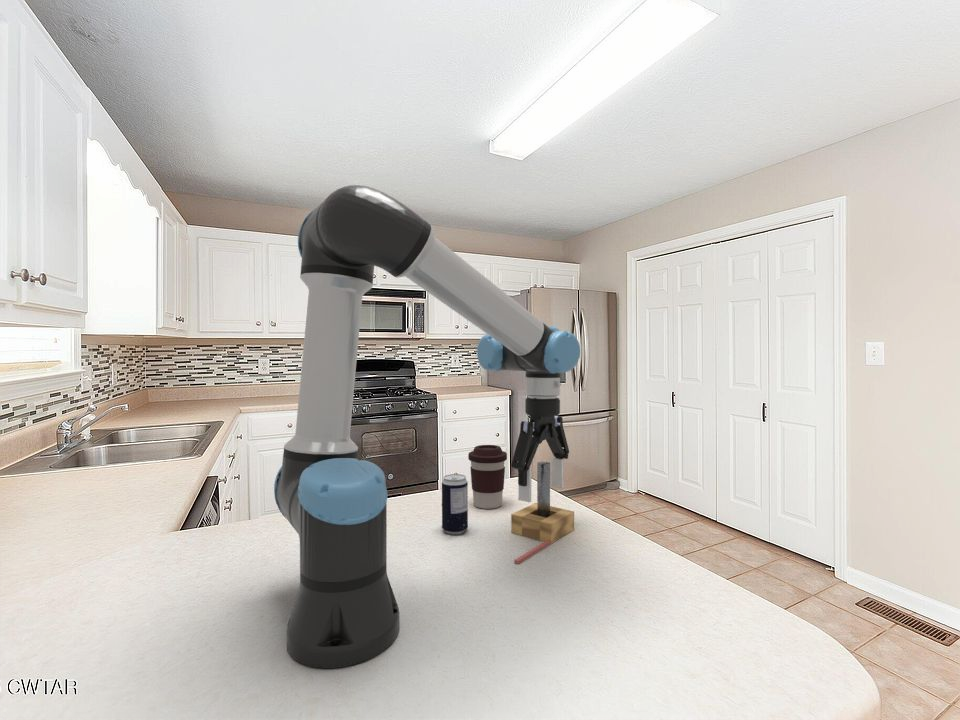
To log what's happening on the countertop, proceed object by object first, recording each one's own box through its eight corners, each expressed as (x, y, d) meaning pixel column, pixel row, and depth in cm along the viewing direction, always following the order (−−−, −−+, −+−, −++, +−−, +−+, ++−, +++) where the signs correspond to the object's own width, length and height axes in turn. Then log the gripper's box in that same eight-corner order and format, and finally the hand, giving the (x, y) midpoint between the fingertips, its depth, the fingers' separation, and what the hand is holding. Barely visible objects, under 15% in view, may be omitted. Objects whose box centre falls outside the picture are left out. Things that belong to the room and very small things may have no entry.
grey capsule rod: (545, 534, 102) (545, 465, 102) (534, 531, 104) (534, 463, 104) (552, 530, 104) (552, 462, 104) (541, 527, 106) (541, 461, 106)
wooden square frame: (551, 543, 97) (551, 524, 97) (511, 532, 103) (511, 514, 103) (574, 529, 105) (574, 511, 105) (535, 519, 111) (535, 502, 111)
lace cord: (518, 564, 88) (518, 561, 88) (514, 563, 88) (514, 559, 88) (550, 543, 97) (550, 540, 97) (547, 542, 98) (547, 539, 98)
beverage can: (469, 526, 107) (469, 473, 107) (466, 536, 101) (465, 480, 101) (444, 525, 107) (444, 473, 107) (439, 535, 102) (439, 479, 102)
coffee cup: (462, 502, 124) (462, 445, 124) (496, 497, 129) (496, 442, 128) (478, 513, 115) (478, 452, 115) (514, 507, 120) (513, 448, 119)
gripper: (525, 402, 92) (524, 511, 92) (584, 394, 111) (583, 484, 111) (494, 399, 96) (494, 503, 96) (556, 392, 116) (555, 479, 116)
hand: (541, 493), depth 104 cm, fingers open, 13 cm apart
